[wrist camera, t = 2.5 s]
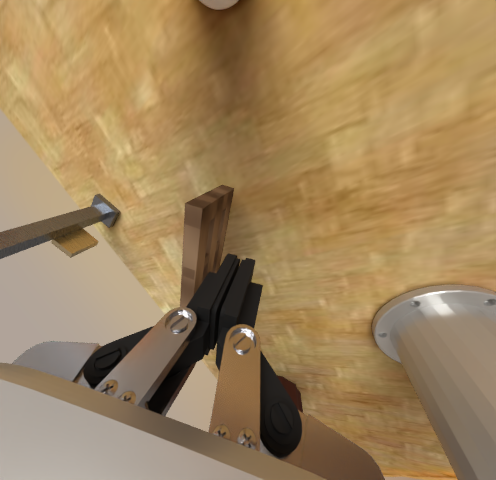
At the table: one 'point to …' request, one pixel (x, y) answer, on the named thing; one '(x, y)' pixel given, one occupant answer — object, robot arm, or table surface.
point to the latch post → (61, 230)
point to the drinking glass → (219, 3)
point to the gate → (203, 238)
